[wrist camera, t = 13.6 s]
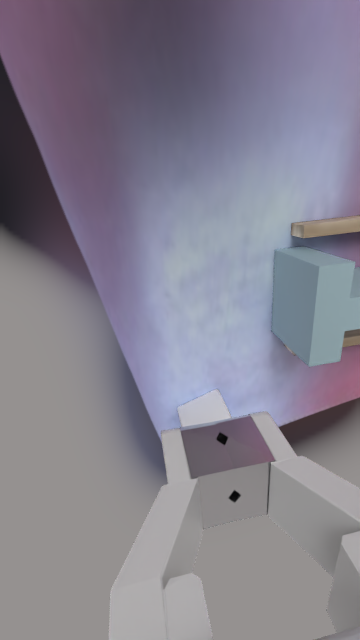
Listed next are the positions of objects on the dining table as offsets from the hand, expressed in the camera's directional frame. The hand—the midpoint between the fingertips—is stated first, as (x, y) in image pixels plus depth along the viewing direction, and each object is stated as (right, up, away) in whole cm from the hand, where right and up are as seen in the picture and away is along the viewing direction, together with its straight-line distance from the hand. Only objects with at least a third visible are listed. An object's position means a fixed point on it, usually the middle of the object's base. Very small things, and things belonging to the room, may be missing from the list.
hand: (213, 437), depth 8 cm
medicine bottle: (+3, -12, +40) cm, 42 cm away
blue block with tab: (+19, +8, +34) cm, 40 cm away
